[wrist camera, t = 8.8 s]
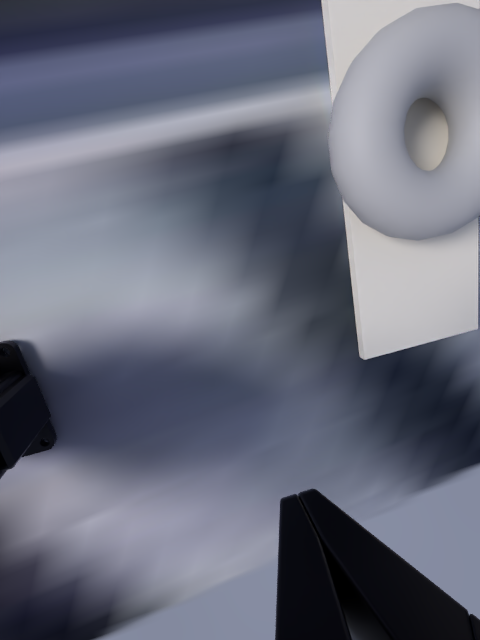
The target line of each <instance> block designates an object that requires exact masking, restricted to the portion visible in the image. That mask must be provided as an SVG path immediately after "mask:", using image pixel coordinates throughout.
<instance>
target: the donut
mask: <svg viewBox="0 0 480 640" xmlns="http://www.w3.org/2000/svg"><path fill="white" fill-rule="evenodd" d="M419 98H428V99H430V100H431V101H433V102H434V103H436V104H437V105H438V106H439V107H440V109H441V110H442V112H443V113H444V115H445V118H446V121H447V125H448V145H447V149H446V153H445V155H444V157H443V159H442V161H441V163H440V164H439V165H438V166H437V167H436V168H435V169H433V170H431V171H427V170H422V169H420V168H419V167H417V166H416V164H415V163H414V162H413V160H412V159H411V158H410V156H409V154H408V151H407V148H406V145H405V136H404V126H405V121H406V116H407V112H408V110H409V108H410V106H411V105H412V104H413V103H414V101H416V100H417V99H419ZM328 145H329V154H330V163H331V172H332V174H333V177H334V179H335V181H336V184H337V186H338V189H339V191H340V193H341V196H342V198H343V201H344V202H345V203H346V204H347V205H348V207H349V208H350V209H351V210H352V211H353V212H354V214H355V215H356V216H357V217H358V218H359V219H360V220H361V222H362V223H364V224H366V225H367V226H369V227H371V228H373V229H375V230H377V231H378V232H380V233H382V234H384V235H386V236H389V237H394V238H402V239H409V240H417V241H419V240H423V239H428V238H432V237H436V236H441V235H445V234H450V233H453V232H455V231H456V230H458V229H460V228H461V227H463V226H465V225H466V224H468V223H470V222H471V221H473V220H475V219H476V218H478V217H479V216H480V9H477V8H473V7H470V6H466V5H463V4H460V3H449V4H442V5H435V6H428V7H420V8H416V9H414V10H412V11H411V12H409V13H407V14H405V15H404V16H402V17H400V18H399V19H397V20H395V21H393V22H392V23H390V24H388V25H387V26H385V27H384V28H382V29H381V30H379V31H378V32H377V33H376V34H375V35H374V36H373V38H372V39H371V40H370V41H369V42H368V43H367V45H366V46H365V47H364V48H363V49H362V50H361V52H360V53H359V54H358V55H357V56H356V57H355V58H354V60H353V61H352V63H351V64H350V66H349V68H348V70H347V72H346V74H345V77H344V79H343V81H342V83H341V85H340V88H339V90H338V92H337V94H336V97H335V99H334V101H333V107H332V113H331V120H330V126H329V132H328Z"/></svg>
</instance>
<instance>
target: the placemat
mask: <svg viewBox="0 0 480 640" xmlns="http://www.w3.org/2000/svg"><path fill="white" fill-rule="evenodd" d="M321 2H322V11H323V21H324V30H325V39H326V49H327V58H328V67H329V77H330V86H331V95H332V104H333V101H334V99H335V97H336V94H337V92H338V90H339V88H340V85H341V83H342V81H343V79H344V77H345V74H346V72H347V70H348V68H349V66H350V64H351V63H352V61H353V60H354V58H355V57H356V56H357V55H358V54H359V53H360V52H361V50H362V49H363V48H364V47H365V46H366V45H367V43H368V42H369V41H370V40H371V39H372V38H373V36H374V35H375V34H376V33H377V32H378V31H379V30H381V29H382V28H384V27H385V26H387V25H388V24H390V23H392V22H393V21H395V20H397V19H399V18H400V17H402V16H404V15H405V14H407V13H409V12H411V11H412V10H414V9H416V8H420V7H428V6H435V5H442V4H449V3H460V4H463V5H466V6H470V7H473V8H477V9H480V0H321ZM404 136H405V145H406V148H407V151H408V154H409V156H410V158H411V159H412V160H413V162H414V163H415V164H416V166H417V167H419V168H420V169H422V170H427V171H431V170H433V169H435V168H436V167H437V166H438V165H439V164H440V163H441V161H442V159H443V157H444V155H445V153H446V149H447V145H448V125H447V121H446V118H445V115H444V113H443V112H442V110H441V109H440V107H439V106H438V105H437V104H436V103H434V102H433V101H431V100H430V99H428V98H419V99H417V100H416V101H414V103H413V104H412V105H411V106H410V108H409V110H408V112H407V116H406V121H405V126H404ZM343 207H344V216H345V226H346V235H347V244H348V254H349V263H350V272H351V282H352V291H353V300H354V310H355V319H356V328H357V338H358V347H359V356H360V357H361V358H363V359H364V360H366V359H369V358H373V357H377V356H380V355H384V354H388V353H391V352H395V351H399V350H402V349H406V348H410V347H414V346H417V345H421V344H425V343H428V342H432V341H436V340H439V339H443V338H447V337H450V336H454V335H458V334H461V333H465V332H469V331H472V330H476V329H478V255H479V217H478V218H476V219H475V220H473V221H471V222H470V223H468V224H466V225H465V226H463V227H461V228H460V229H458V230H456V231H455V232H453V233H450V234H445V235H441V236H436V237H432V238H428V239H423V240H419V241H417V240H409V239H402V238H394V237H389V236H386V235H384V234H382V233H380V232H378V231H377V230H375V229H373V228H371V227H369V226H367V225H366V224H364V223H362V222H361V220H360V219H359V218H358V217H357V216H356V215H355V214H354V212H353V211H352V210H351V209H350V208H349V207H348V205H347V204H346V203H345V202H344V201H343Z"/></svg>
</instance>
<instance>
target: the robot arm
mask: <svg viewBox="0 0 480 640" xmlns="http://www.w3.org/2000/svg"><path fill="white" fill-rule="evenodd" d="M3 348H7V349H9V350H10V354H6V353H5V352H4V350H3ZM50 416H51V415H50V412H49V410H48V407H47V405H46V403H45V400H44V398H43V396H42V393H41V391H40V389H39V386H38V384H37V381H36V379H35V377H33V376H32V375H30V372H29V370H28V368H27V365H26V363H25V361H24V358H23V356H22V354H21V351H20V349H19V347H18V345H17V344H16V343H14V342H12V341H2V342H0V479H1V477H2V476H3V475H4V473H5V472H6V471H7V470H8V469H11V468H13V467H14V466H15V465H16V463H17V462H18V461H19V459H20V458H21V457H24V456H28V455H31V454H35V453H39V452H42V451H46V450H49V449H51V448H52V447H53V446H54V444H55V443H56V441H57V436H56V433H55V431H54V429H53V426H52V424H51V422H50V419H49V418H50ZM43 439H48V440H49V442H45V441H44V440H43ZM275 640H480V620H479V619H478V618H477V617H476V616H474V615H473V614H470V615H469V614H468V611H467V610H466V609H465V608H464V607H463V606H462V605H460V604H459V603H458V602H456V601H455V600H454V599H453V598H451V597H450V596H449V595H448V594H446V593H445V592H444V591H443V590H441V589H440V588H439V587H438V586H436V585H435V584H434V583H433V582H431V581H430V580H429V579H428V578H426V577H425V576H424V575H423V574H421V573H420V572H419V571H418V570H416V569H415V568H414V567H412V566H411V565H410V564H409V563H407V562H406V561H405V560H404V559H403V558H401V557H400V556H399V555H398V554H396V553H395V552H394V551H393V550H391V549H390V548H389V547H387V546H386V545H385V544H384V543H382V542H381V541H380V540H379V539H377V538H376V537H375V536H374V535H372V534H371V533H370V532H369V531H367V530H366V529H365V528H364V527H362V526H361V525H360V524H359V523H357V522H356V521H355V520H354V519H352V518H351V517H350V516H349V515H347V514H346V513H345V512H344V511H342V510H341V509H340V508H339V507H337V506H336V505H335V504H333V503H332V502H331V501H330V500H328V499H327V498H326V497H325V496H323V495H322V494H321V493H320V492H318V491H317V490H316V489H310V490H307V491H303V492H300V493H299V494H298V496H297V495H296V494H294V495H290V496H287V497H284V498H282V499H281V501H280V521H279V549H278V578H277V605H276V635H275Z"/></svg>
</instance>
